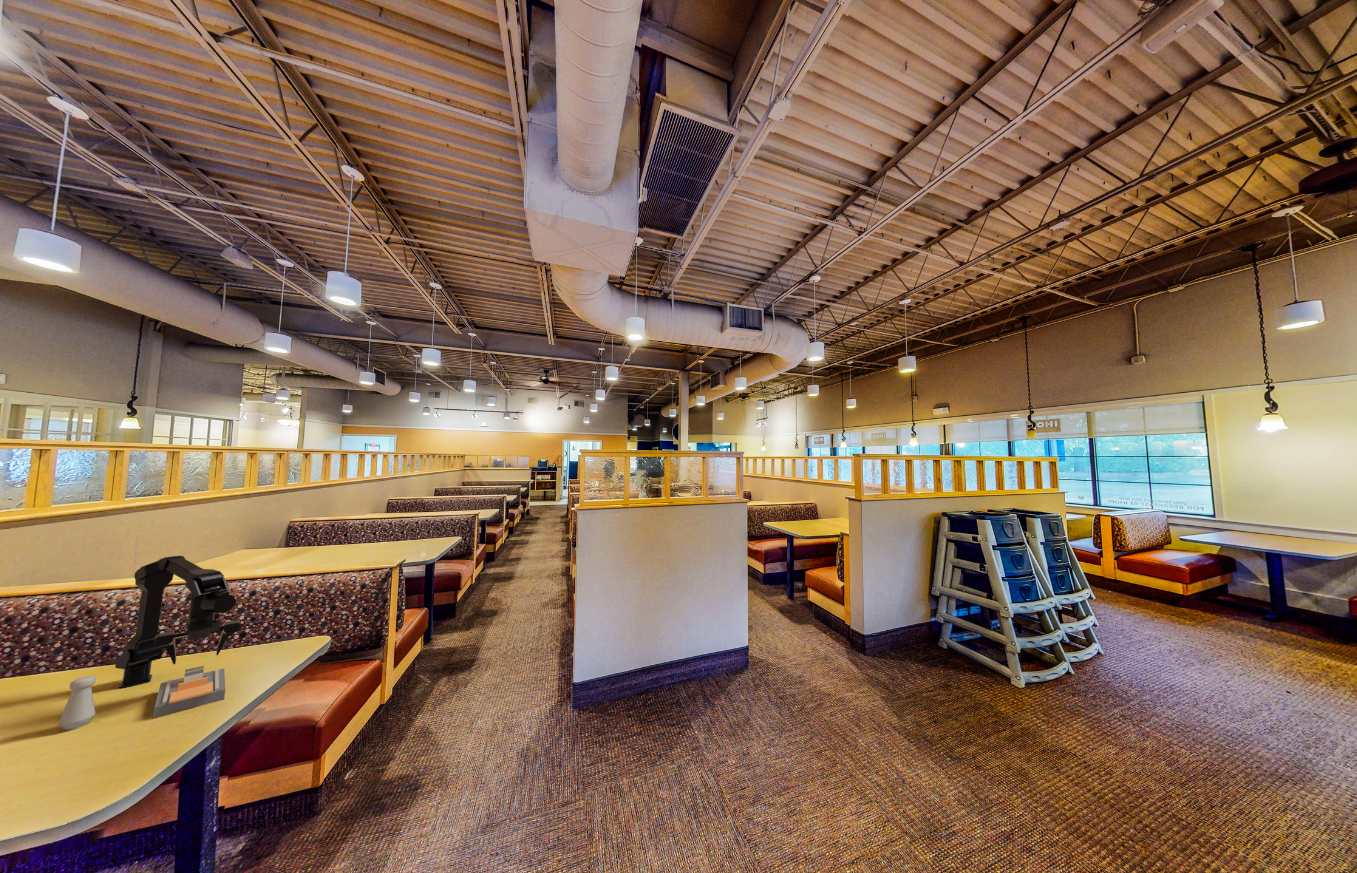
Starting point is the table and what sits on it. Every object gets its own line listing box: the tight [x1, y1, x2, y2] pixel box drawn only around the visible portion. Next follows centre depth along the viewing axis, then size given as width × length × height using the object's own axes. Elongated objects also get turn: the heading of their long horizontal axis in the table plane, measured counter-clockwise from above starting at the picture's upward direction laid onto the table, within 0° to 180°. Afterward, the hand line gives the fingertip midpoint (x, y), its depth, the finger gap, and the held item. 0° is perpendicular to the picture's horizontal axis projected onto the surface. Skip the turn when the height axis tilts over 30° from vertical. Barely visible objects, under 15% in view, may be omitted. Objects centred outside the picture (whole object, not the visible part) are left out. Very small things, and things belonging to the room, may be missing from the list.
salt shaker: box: [58, 675, 97, 731], centre depth 116 cm, size 6×6×13 cm
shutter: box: [169, 677, 213, 704], centre depth 127 cm, size 9×9×3 cm
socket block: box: [152, 668, 226, 719], centre depth 132 cm, size 22×14×4 cm, turn 49°
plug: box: [183, 665, 205, 682], centre depth 134 cm, size 4×4×7 cm
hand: (196, 659), depth 135 cm, fingers open, 9 cm apart
